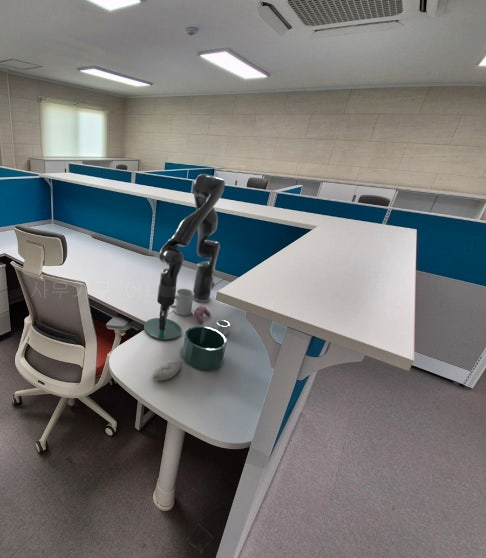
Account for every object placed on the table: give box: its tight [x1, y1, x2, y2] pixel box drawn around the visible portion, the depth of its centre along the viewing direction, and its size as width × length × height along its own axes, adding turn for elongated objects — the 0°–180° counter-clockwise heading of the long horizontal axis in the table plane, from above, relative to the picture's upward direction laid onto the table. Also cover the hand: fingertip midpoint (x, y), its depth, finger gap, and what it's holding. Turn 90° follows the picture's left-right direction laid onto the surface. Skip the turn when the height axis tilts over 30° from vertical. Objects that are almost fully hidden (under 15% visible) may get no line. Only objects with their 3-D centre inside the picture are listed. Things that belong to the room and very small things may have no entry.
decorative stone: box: [152, 359, 183, 382], centre depth 111 cm, size 6×16×3 cm, turn 133°
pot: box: [181, 325, 228, 371], centre depth 119 cm, size 16×16×10 cm
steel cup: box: [214, 319, 230, 337], centre depth 137 cm, size 6×6×5 cm
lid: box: [143, 317, 182, 341], centre depth 137 cm, size 17×17×6 cm
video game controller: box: [193, 305, 212, 325], centre depth 147 cm, size 10×5×7 cm, turn 141°
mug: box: [170, 288, 194, 317], centre depth 151 cm, size 12×8×11 cm
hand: (162, 324), depth 137 cm, fingers open, 8 cm apart
